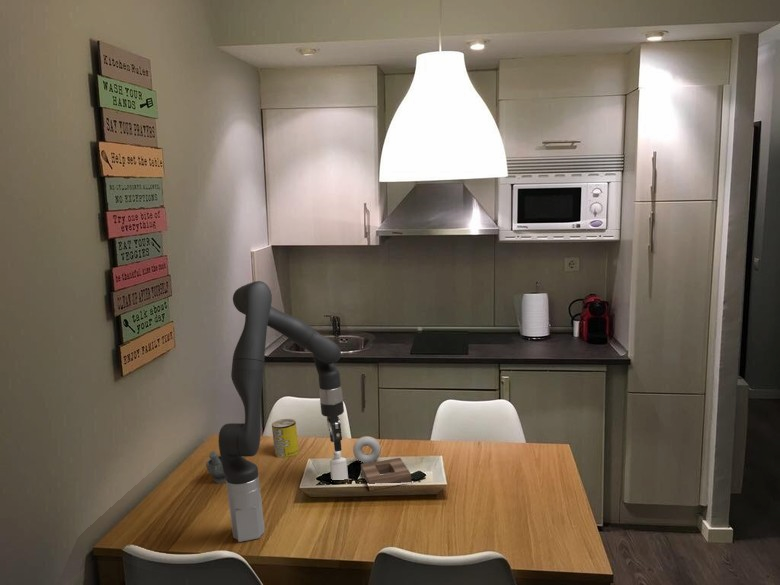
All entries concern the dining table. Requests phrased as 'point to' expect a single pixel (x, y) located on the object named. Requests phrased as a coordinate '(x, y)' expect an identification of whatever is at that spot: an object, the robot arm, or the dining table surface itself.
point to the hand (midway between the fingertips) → (336, 446)
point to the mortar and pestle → (216, 468)
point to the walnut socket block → (386, 471)
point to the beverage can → (285, 438)
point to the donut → (371, 443)
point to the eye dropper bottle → (338, 467)
